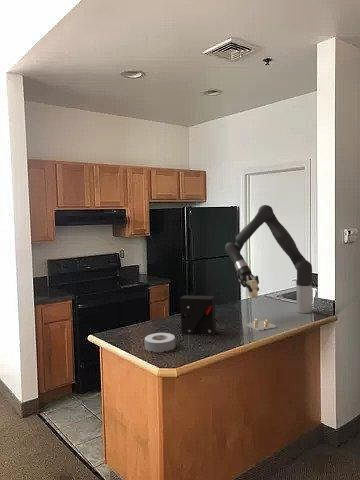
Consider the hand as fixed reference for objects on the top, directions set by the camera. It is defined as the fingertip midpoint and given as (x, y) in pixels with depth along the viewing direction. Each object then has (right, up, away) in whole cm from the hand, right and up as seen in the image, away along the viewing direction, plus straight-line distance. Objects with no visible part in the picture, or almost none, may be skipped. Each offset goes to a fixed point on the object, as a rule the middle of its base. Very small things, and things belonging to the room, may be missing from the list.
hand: (254, 291), depth 239 cm
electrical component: (-34, -21, -17) cm, 43 cm away
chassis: (+1, -19, -11) cm, 22 cm away
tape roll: (-55, -24, -38) cm, 70 cm away
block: (-1, -4, +2) cm, 5 cm away
